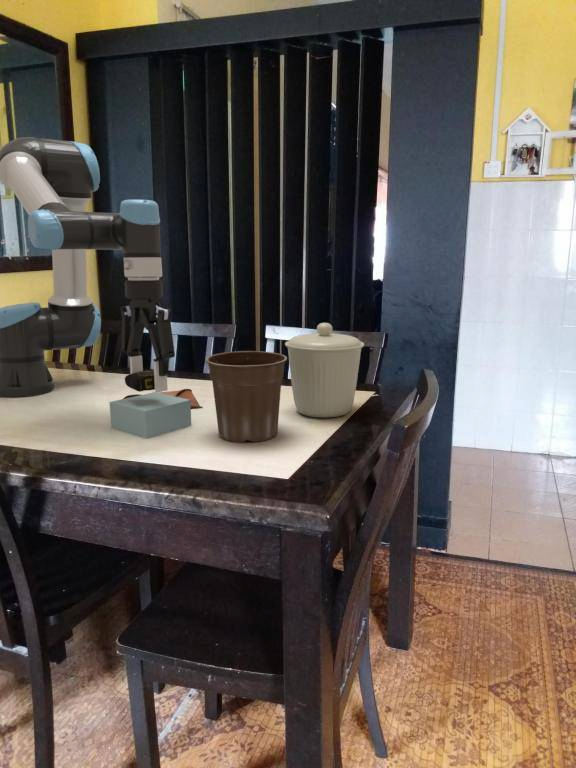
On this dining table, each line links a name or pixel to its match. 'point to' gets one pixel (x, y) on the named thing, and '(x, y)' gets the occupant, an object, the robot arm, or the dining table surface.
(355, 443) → the dining table surface
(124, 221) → the robot arm
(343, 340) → the canister
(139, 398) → the painted block
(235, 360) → the plant pot
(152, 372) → the tape measure
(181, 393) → the sunglasses case
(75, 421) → the dining table surface
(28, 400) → the dining table surface
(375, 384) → the dining table surface
